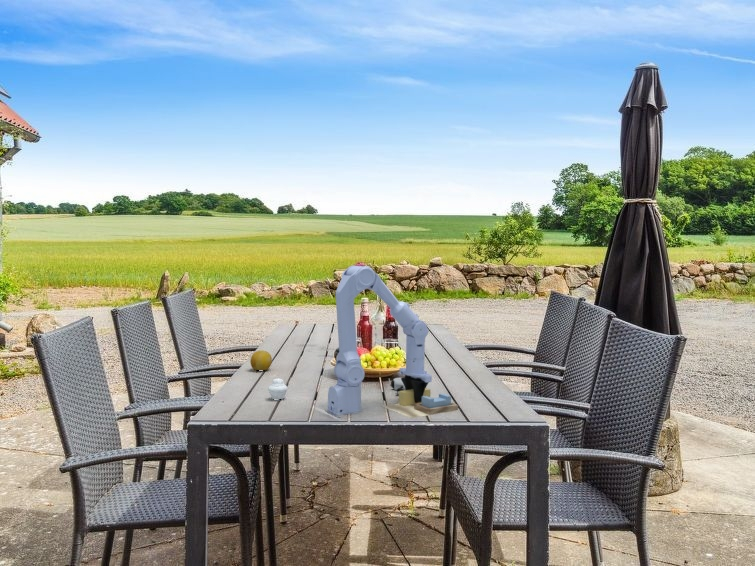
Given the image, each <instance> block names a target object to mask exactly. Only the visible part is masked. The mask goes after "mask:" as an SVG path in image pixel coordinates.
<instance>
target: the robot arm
mask: <svg viewBox="0 0 755 566" xmlns="http://www.w3.org/2000/svg"><path fill="white" fill-rule="evenodd" d="M366 289H367V290H370V291H373V292H374V293H375V294H376V296H377V297H379V298H380V299H381V301H383V302H384V304H386V305H387V306H388V308H389V314H390V316H391V317H392V318H393V319H394V320H395V321H396V322H397V323H398V324H399V326H400V327H401V328H402V332H403V334H404V335H406V338H405V339H406V346H405V367H400V368H399V369H398V371H399V373H398V374H399V375H400V376H401V375H403V378H401V377H400V378H401V380H402V382H403V384H404V386H405V389H406V390H411V389H413V391H414V401H415V403H418V402H421V401H422V396H423V393H424V391H425V388H427V386H428V385H429V383H431V382H433V381H432V380H433V379H432V378H433V377H432V375H430V374H429V373H428V372H427V370H425V355H426V354H425V353H426V352H425V347H426V345H425V344H426V343H425V342H426V337H427V336H428V335H429V332H430V330H429V328H428V326H427V323H426V322H425V321H424V320H419V317H420V316H419V315H418V314H415V312H414V311H413V310H412V309H411V308H410V306H411V305H410V304H409V303H408V302H405V301H399V300H398V298H397V297H396V296H395V295H394V294H393V293H392V291H391V290H390V288H388V286H387V285H386V284H385V283H384V281H383V280H382V278H381V277H380V275H379V274H378V273H376V272H375V271H374V269H373V268H371V267H370V266H368V265H367V266H365V265H364V266H363V265H361V266H360V265H350V266H349V267H347V268H346V269H345V270H344V271H343V272H342V273H341V279H340V280H339V284H338V285H337V288H336V290H335V308H336V323H337V335H338V336H337V338H338V353H337V355H336V361H335V362H336V363H335V365H334V368H333V370H334V371H333V373H334V375H335V377H336V378H337V381H336V384H335V385H332V386H330V387H329V388H328V391H327V392H328V393H327V411H326V413H327V414H329V415H331V416H333V417H336V418H338V419H342V417H341V415H347V414H348V415H349V414H357V413H360V412H361V411H362V382H363V381H364V379H365V373H366V372H365V368H364V367H363V365H362V359H361V357H360V355H359V353H358V343H357V331H356V330H357V329H356V315H355V314H356V313H355V299H356V298H357V296H358V295H359V294H360V293H361V292H363V291H365V290H366ZM339 415H340V416H339Z"/></svg>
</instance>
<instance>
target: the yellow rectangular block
mask: <svg viewBox="0 0 755 566" xmlns="http://www.w3.org/2000/svg"><path fill="white" fill-rule="evenodd" d="M423 396H427V397H430V398H431V389H430V388H428V387H426V388H425V391H424V393H423ZM418 403H422V401H421V402H418ZM418 403H415V401H414V391H413V389H411V390H404V391H399V395H398V404H400V405H403V406H408V405H414V404H418Z"/></svg>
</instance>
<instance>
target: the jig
mask: <svg viewBox="0 0 755 566" xmlns="http://www.w3.org/2000/svg"><path fill="white" fill-rule="evenodd" d="M381 407H382V408H385V409H387V410H390V411H391V412H395V413H397V414H399V415H402V416H405V417H407V418H410V419H413V418H415V419H416V418H420V417H421V418H422V417H425V416H426V417H427V416H433V415H437V414H438V415H439V414H444V413H449V412H455V411H456V412H457V411H460V409H459V404H456V403H453V402H451V405H448V406H442V407H436V408H427V407H425V406H422V403H418V404H414V405H408V406H403V405H400V404H399V403H396V404H395V403H394V404H389V405H388V404H387V405H381Z"/></svg>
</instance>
